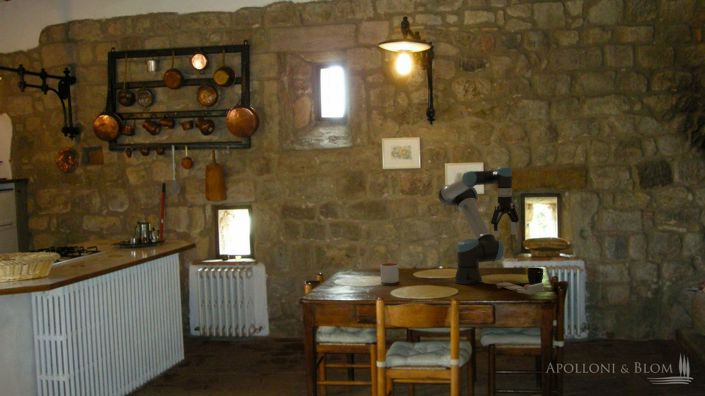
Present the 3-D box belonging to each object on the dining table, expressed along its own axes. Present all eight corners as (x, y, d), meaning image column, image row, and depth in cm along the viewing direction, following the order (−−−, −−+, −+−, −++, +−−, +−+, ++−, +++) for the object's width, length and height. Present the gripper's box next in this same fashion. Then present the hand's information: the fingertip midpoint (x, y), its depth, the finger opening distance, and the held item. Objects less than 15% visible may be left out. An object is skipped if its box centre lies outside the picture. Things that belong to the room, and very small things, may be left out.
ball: (521, 289, 346) (525, 294, 343) (523, 283, 344) (527, 288, 341) (527, 288, 347) (532, 293, 344) (529, 282, 345) (534, 287, 342)
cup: (385, 284, 375) (384, 266, 374) (377, 281, 384) (377, 264, 384) (401, 282, 379) (401, 265, 378) (393, 279, 388) (393, 262, 387)
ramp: (496, 288, 357) (496, 283, 357) (504, 286, 362) (504, 281, 361) (519, 291, 346) (519, 286, 346) (527, 289, 350) (527, 284, 350)
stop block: (517, 292, 344) (517, 284, 344) (530, 289, 351) (530, 281, 351) (530, 294, 338) (530, 286, 338) (543, 291, 345) (543, 283, 345)
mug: (532, 289, 350) (531, 271, 350) (525, 285, 362) (525, 267, 362) (547, 289, 351) (547, 270, 350) (540, 284, 363) (540, 267, 362)
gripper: (494, 197, 349) (495, 238, 351) (525, 194, 365) (525, 233, 366) (483, 197, 355) (484, 237, 357) (514, 194, 371) (514, 232, 372)
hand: (505, 235), depth 362 cm, fingers open, 13 cm apart
